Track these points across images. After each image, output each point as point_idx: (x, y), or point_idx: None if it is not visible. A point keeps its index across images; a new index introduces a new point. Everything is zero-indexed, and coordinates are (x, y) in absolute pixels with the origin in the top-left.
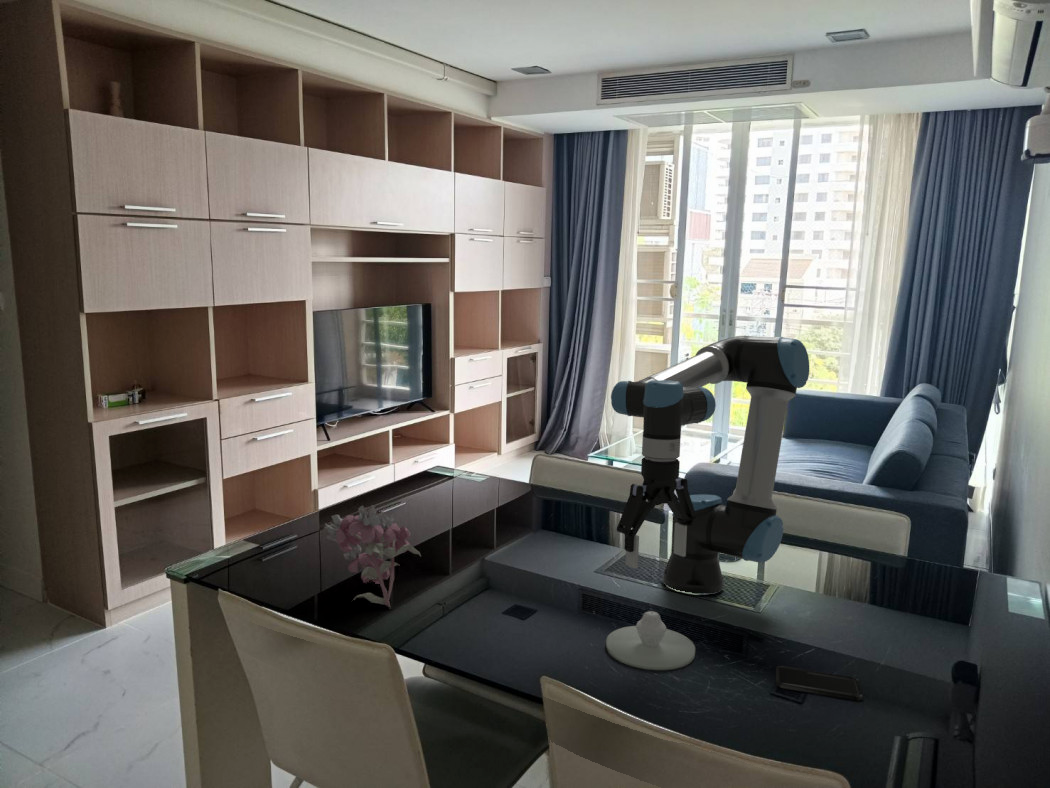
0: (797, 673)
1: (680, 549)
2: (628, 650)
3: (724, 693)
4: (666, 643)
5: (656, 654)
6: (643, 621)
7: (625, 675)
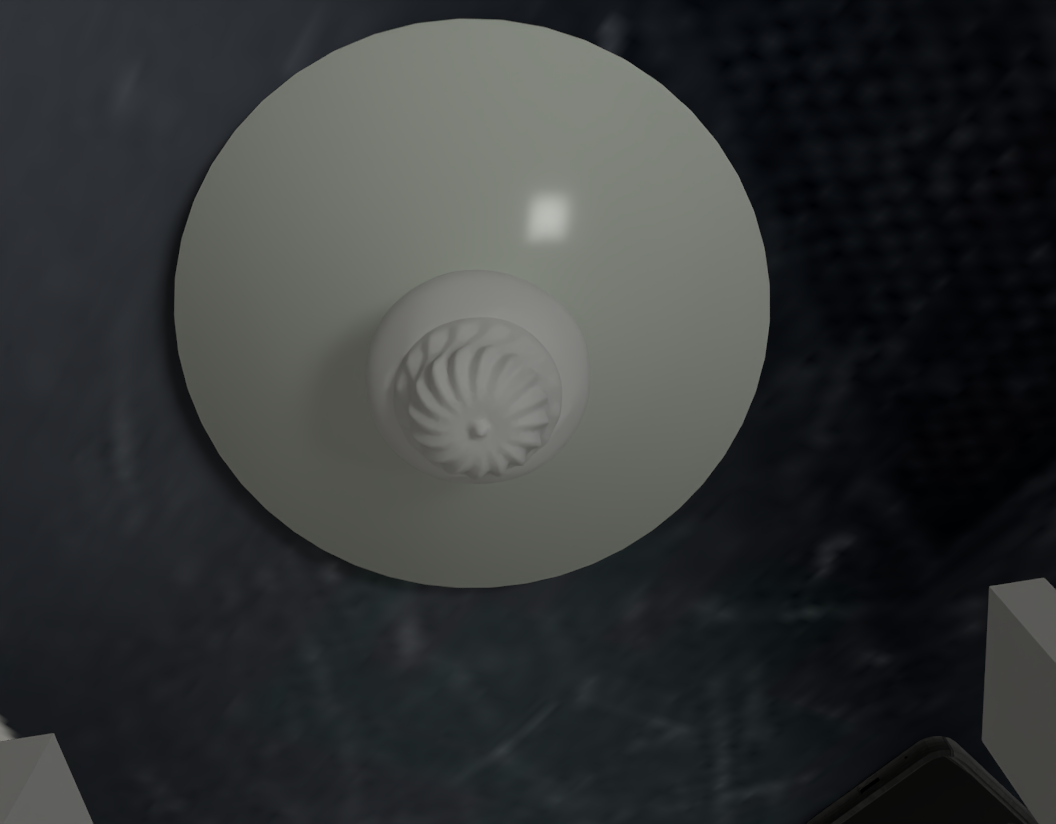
0: (963, 815)
1: (1031, 767)
2: (283, 362)
3: (531, 810)
4: None
5: None
6: (402, 404)
7: (155, 531)
